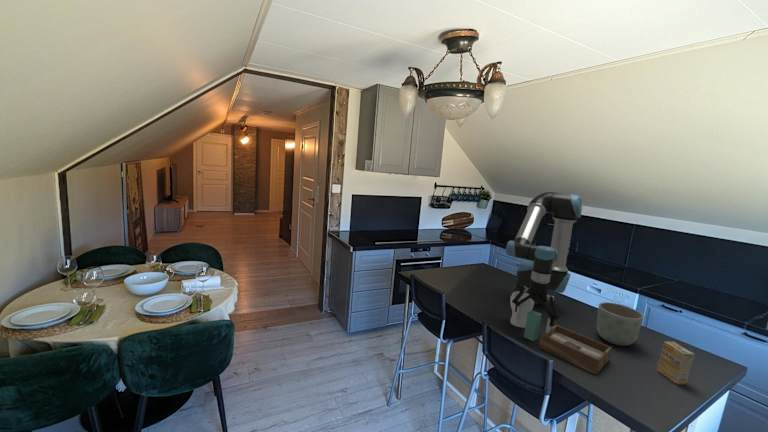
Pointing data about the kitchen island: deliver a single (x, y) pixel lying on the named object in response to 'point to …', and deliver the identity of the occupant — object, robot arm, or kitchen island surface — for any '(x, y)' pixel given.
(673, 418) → the kitchen island surface
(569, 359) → the crate
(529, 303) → the cup
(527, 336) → the peg
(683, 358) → the supplement box
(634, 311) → the planter
